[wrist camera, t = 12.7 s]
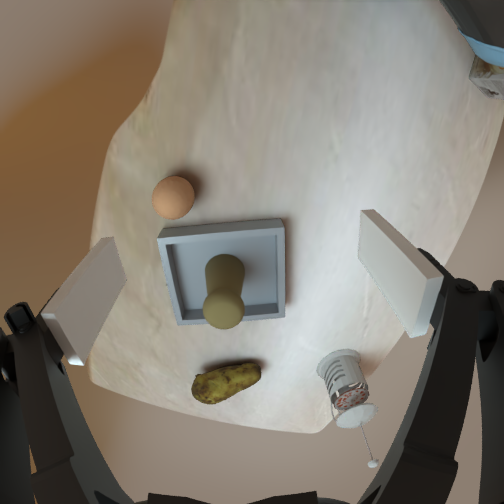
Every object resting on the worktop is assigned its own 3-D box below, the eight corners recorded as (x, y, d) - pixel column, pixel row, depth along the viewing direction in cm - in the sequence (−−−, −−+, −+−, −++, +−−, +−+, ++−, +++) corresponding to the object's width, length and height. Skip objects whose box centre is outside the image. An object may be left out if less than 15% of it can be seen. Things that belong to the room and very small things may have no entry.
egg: (187, 165, 37) (178, 175, 31) (203, 200, 40) (197, 217, 34) (152, 181, 38) (137, 195, 32) (169, 215, 40) (158, 234, 34)
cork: (252, 263, 44) (258, 308, 34) (234, 294, 46) (235, 342, 36) (214, 247, 42) (209, 289, 32) (198, 280, 44) (190, 326, 34)
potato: (254, 383, 57) (257, 413, 50) (193, 377, 56) (190, 408, 48) (262, 356, 54) (266, 389, 47) (194, 350, 52) (191, 383, 45)
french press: (368, 349, 56) (413, 448, 33) (345, 384, 60) (376, 476, 38) (327, 347, 54) (365, 458, 32) (306, 384, 59) (331, 485, 36)
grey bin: (280, 218, 42) (284, 227, 39) (281, 304, 48) (285, 317, 45) (162, 228, 41) (157, 238, 38) (180, 312, 48) (177, 325, 45)
